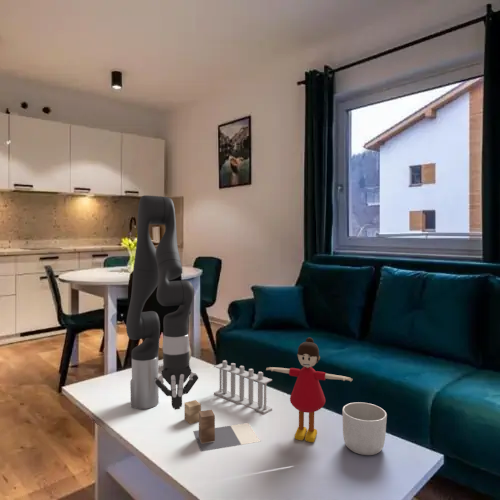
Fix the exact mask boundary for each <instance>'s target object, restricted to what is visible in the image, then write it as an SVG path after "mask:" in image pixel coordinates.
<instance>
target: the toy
mask: <svg viewBox="0 0 500 500" xmlns="http://www.w3.org/2000/svg"><path fill="white" fill-rule="evenodd" d="M296 356H297V360H298V361H299V363H300V365H301V366H302V368H301V369H300V368H295V367H290V368H286V367H285V368H284V367H273V366H272V367H271V366H269V367H266V369H265V371H271V372H277V373H283V374H288V375H289V376H290V377H295V378H296V380H295V383H294V386H293V389H292V392H291V394H290V396H289V401H290V404H291V405H292V406H293V407H294V408H295V409H296V410H297V411H298V426H297V429H296V431H295V434H294V439H295V440H298V441H305V442H308V443H314V442H315V440H316V439H317V438H316V437H317V434H318V429H316V428H315V412H317V411H320V410H321V409H323V407H324V406H325V404H326V397H325V394H324V391H323V389H322V386H321V383H320V381H326V379H327V380H336V381H337V380H339V381H340V380H341V381H343V382H345V381H349V382H352V381H353V378H351V377H349V376H344V375H340V374H339V375H337V374H332V373H327V372H324V371H318V370H317V371H316V370H315V369H314V368H313V367H314V366H315V365H316V364H318V363H319V361H320V359H321V356H320V350H319V347H318V345H317V344H316V343H315V342H314V339H313V338H312V336H311V337H307V338H306V339H305V341H304V342H302V343H300V345H299V346H298V348H297V354H296ZM305 413H306V414H308V429H307V427H305V426H304V425H305V424H304V423H305Z"/></svg>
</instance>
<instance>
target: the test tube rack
mask: <svg viewBox="0 0 500 500" xmlns="http://www.w3.org/2000/svg"><path fill="white" fill-rule="evenodd" d="M221 362H222V363H219V364H215V365H214V366H213V367H214V368H216V369H219V390H216V391H213V395H216V396H218V397H220V398H223V399H225V400H228V401H231V402H232V401H233V402H232V403H235V404H237V403H238V405H239V406H241V405H243V406H244V407H245V406H246V407H248V408H251V409H253V410H254V411H256V412H257V413H259V414H263V415H265V413H266V414H267V413H269V412H271V411H273V408H272V407H271V406H268V405H267V384H268V383H270V382H273V379H272V378H268V377H266V376H264V371H263V372H262V371H258V373H257V374H256V373H254V372H255V371H254V368H248V371H247V370H245V366H244V365H240V366H239V368H238V367H236V363H234V362H231V363H230V365H228V360H226V359H225V360H222V361H221ZM228 373H230V391H228ZM236 375H237V376H239V380H238V381H239V388H238V389H239V391H238V392H239V394H237V393H236ZM245 378H246V379H248V391H247V392H248V395H247V397H245ZM254 382H257V401H255V400H254Z"/></svg>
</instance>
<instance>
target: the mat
mask: <svg viewBox="0 0 500 500" xmlns="http://www.w3.org/2000/svg"><path fill="white" fill-rule="evenodd" d="M193 434H194V437H195V440H196V443H197V445H198V448H199V449H200V450H199V451H200V452H205V451H212V450H213V451H214V450H216V449H223V448H224V449H225V448H231V447H236V446H242V445H248V444H254V443H259V442H261V440H260V438H259V436H258V435H257V434H256V432H255V431H254V429H253V428H252V425H250V423H248V422H246V423H245V422H244V423H239V424H232V425H231V424H230V425H225V426H218V427H215V442H209V443H203V444H201V441H200V439H199V429H198V430H193Z"/></svg>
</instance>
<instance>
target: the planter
mask: <svg viewBox="0 0 500 500" xmlns="http://www.w3.org/2000/svg"><path fill="white" fill-rule="evenodd" d="M387 418H388V414H387V412H386V410H384V409H383V408H382V407H380V406H378V405H376V404H372V403H370V402H369V403H368V402H361V401H360V402H359V401H358V402H350V403H346V404H345V405H343V407H342V436H343V441H344V444H345V446H346V447H347V448H348V449H349V450H350V451H352V452H354V453H356V454H359V455H363V456H373V455H376V454H378V453H380V452H381V451H382V450H383V448H384V446H385V441H386V433H387V420H388V419H387Z"/></svg>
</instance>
